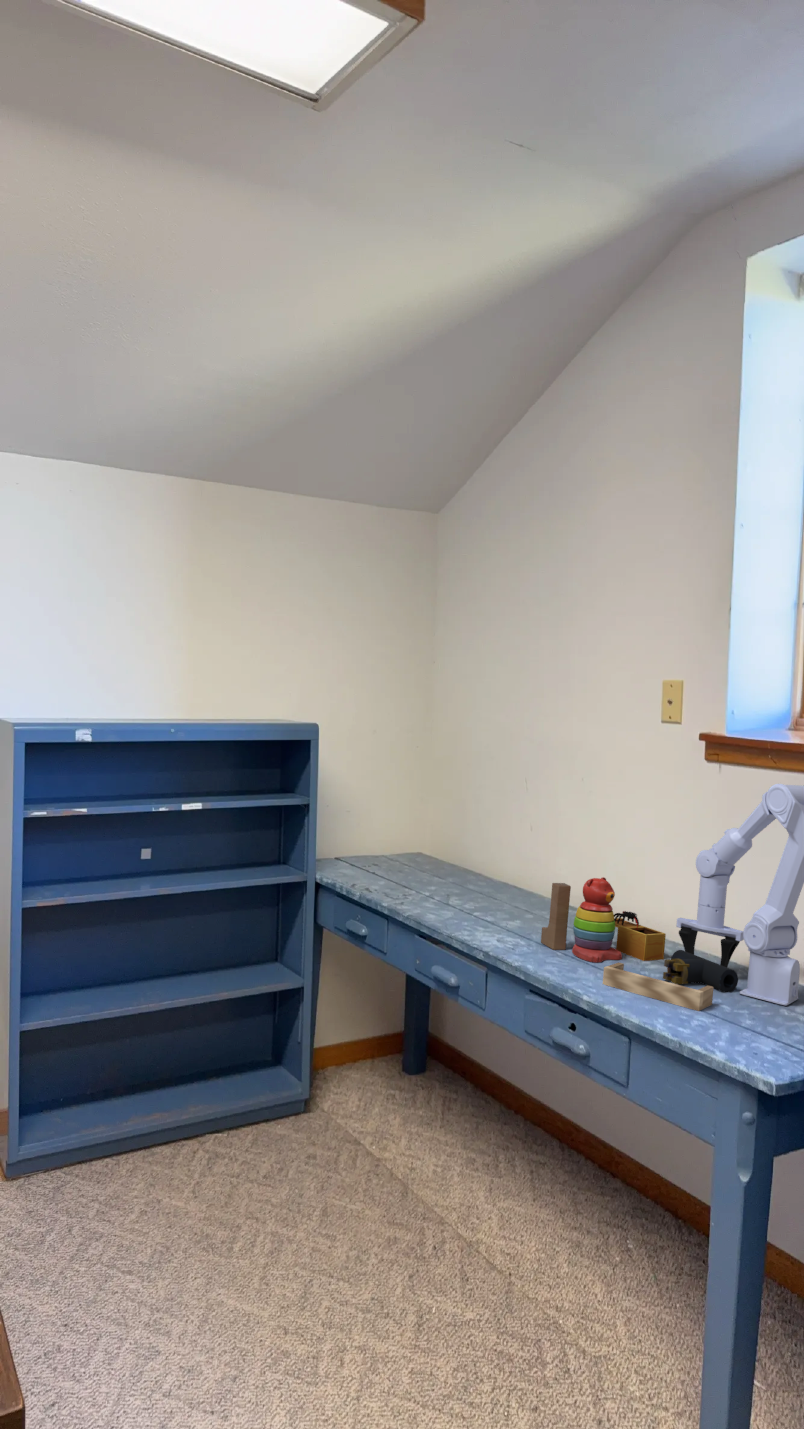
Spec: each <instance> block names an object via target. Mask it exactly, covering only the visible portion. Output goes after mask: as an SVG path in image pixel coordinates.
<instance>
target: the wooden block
mask: <svg viewBox="0 0 804 1429" xmlns="http://www.w3.org/2000/svg"><path fill="white" fill-rule="evenodd" d="M571 888H572V887H571V885H570V884H567V883H565V882H552V884H551V894H550V895H551V896H550V907H549V918H548V921H549V922H548V925H547V927H546V926H545V927H543V926H542V927H541V935H540V943H541V944H543V945H544V946H546V947H548V948H549V949H551V950H553V951H563V950H564V951H565V950H566V949H567V948H566V947H567V937H568V936H567V935H568V924H569V922H568V921H569V911H570V910H569V909H570V898H571Z"/></svg>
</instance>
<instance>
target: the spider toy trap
mask: <svg viewBox="0 0 804 1429" xmlns="http://www.w3.org/2000/svg"><path fill="white" fill-rule="evenodd" d="M613 914H614V921H615V928H617V937H616V947H615V949H617V950H618V951H620V952H621V954H624V955H626V956H629V957H632V958H635V959H637V960H640V961H642V962H649V961H651V962H652V961H661V960H663V961H664V960H665V947H666V936H667V933H665V932H662V931H660V930H656V929H653V928H650V927H648V926H644V925H641V924H640V922H639V918H638V914H637V913H635V912H634V911H633V912H632V911H626V910H623V911H622V913H620V912H616V913H613ZM626 918H627V920H626ZM630 920H631V922H630Z"/></svg>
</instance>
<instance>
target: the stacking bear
mask: <svg viewBox="0 0 804 1429" xmlns="http://www.w3.org/2000/svg"><path fill="white" fill-rule="evenodd" d="M615 895H616V894H615V891H614V888H613V887H612V885H611V883H610V882H609V881H607V878H606V877H604V876H603V877H601V878H597V877H593V878H590V879H587V881H585V882H584V884H583V887H582V896H583V898H584V901H582V902H580V905H579V906H578V907H577V909H576V913H575V916H574V919H573V925H572V926H573V930H572V931H573V936H574V942H575V943H574V945H573V947H572V949H571V953H572V954H573V955H574V956H575V957H577V958H579V959H581V960H584V961H586V962H590V963H602V962H603V961H608V960H609V961H610V960H613V961H618V960H619V961H620V960H622V958H623V953H621V952H620V951H618V950H617V949H616V947H615V948H614V947H612V944H613V940H614V938H615V934H616V933H615V932H616V931H615V930H616V927H615V921H614V918H615V917H614V914H615V913H614V911H613V906H612V905H611V903H612V901H613V900H614V899H615Z"/></svg>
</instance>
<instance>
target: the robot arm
mask: <svg viewBox="0 0 804 1429" xmlns="http://www.w3.org/2000/svg"><path fill="white" fill-rule="evenodd" d="M775 820H777V821H778V822H779V823H780V824H781V825H782V827H784V829H786V832H787V834H788V838H787V840H786V843H785V845H784V849H783V851H782V855H781V858H780V861H779V863H778V865H777V869H776V872H775V875H774V878H773V879H772V880H773V881H772V882H771V883H772V884H771V886H770V889H769V892H768V895H767V898H766V899H765V900H766V901H765V904H763V905H762V906H761V907H760V908H758V909H756V911H755V912H754V913H753V914H752V916H751V920H750V921H748V922H747V924H746V925H745V926H744V928H743V930H740V929H736V928H732V927H730V926H726V925H725V917H726V916H725V913H726V901H727V890H728V889H727V888H728V885H729V884H730V878H731V876H732V875H733V874H734V871H735V869H736V866H735V865H736V864H737V863H738V861H740V859H741V858H743V856H745V854H747V853H748V851H750V850H751V849H752V847H753V839H754V838H755V837H757V836H758V835H759V834H760V833H761V832H762V831H763V830H764V829H766V828H767V827H769V825H770V824H772V823H773V822H774V821H775ZM723 833H724V835H722V837H721V838H720V839H719V840H718V841H717V842H716V843H713V845H711V848H709V849H703V850H701V851H699V853H698V855H697V856H696V859H695V868H696V871H697V872H698V874H699V875H700V877H699V878H700V879H699V880H700V881H699V888H698V889H699V890H698V891H699V892H698V901H697V910H696V911H697V913H696V914H697V915H696V919H690V918H684V917H678V918H676V925H675V926H676V927H675V928H680V930H678V936H679V937H680V940H681V942H682V945H683V949H684V951H686V952H688V953H691V954H694V955H695V946H696V940H697V936H698V932H700V933H705V934H708V935H714V936H717V937H722V938H721V939H720V950H721V951H720V953H721V954H720V955H721V956H720V963H719V965H722V966H724V967H727V968H729V967H728V966H729V964H730V960H731V958H732V956H733V954H734V952H735V950H736V949H737V947H738V946H739V944H740V942H742V941H744V944H745V945H746V947H747V951H748V952H749V961H748V974H747V985H746V988H744V989H742V990H740V991H739V994H740V995H743V996H747V997H751V998H755V999H759V1000H761V1001H762V1000H763V1001H767V1002H769V1003H774V1004H777V1005H781V1006H786V1007H787V1006H789V1005H791V1004H792V1003H794V1002H795V1001H797V1000H799V985H800V974H801V972H800V971H801V968H800V966H801V964H800V961H799V960H798V959H795V958H792V957H789V955H790V954H791V950H793V949H794V948H795V946H796V945H797V943H798V928H799V927H798V926H799V925H800V921H799V920H798V918H797V917H796V916H795V914H794V911H795V910H796V907H797V904H798V900H799V898H800V895H801V893H802V889H803V887H804V784H802V785H801V784H800V785H799V784H797V785H796V784H785V783H775V784H773V785H771V786H770V787H769V789H768V790H767V791H766V792H764V793H763V794H762V796H761V802H759V804H758V805H757V806H756V807H755V809H753V811H752V812H751V814H750V815H749V816H747V818H746V819H745V820H744V821H743V823H742V824H741V825H740V826H739V827H732V828H727V829H726V830H724V832H723Z"/></svg>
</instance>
